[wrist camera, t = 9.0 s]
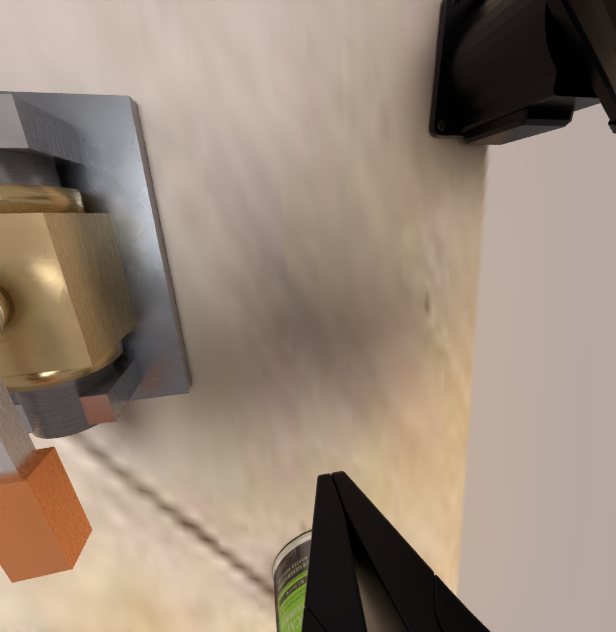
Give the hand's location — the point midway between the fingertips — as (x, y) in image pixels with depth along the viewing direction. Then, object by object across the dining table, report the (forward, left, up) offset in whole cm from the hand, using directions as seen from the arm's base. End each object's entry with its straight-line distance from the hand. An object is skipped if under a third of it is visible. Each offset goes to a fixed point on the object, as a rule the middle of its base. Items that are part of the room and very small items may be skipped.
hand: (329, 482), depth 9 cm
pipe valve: (-5, -12, -12) cm, 17 cm away
